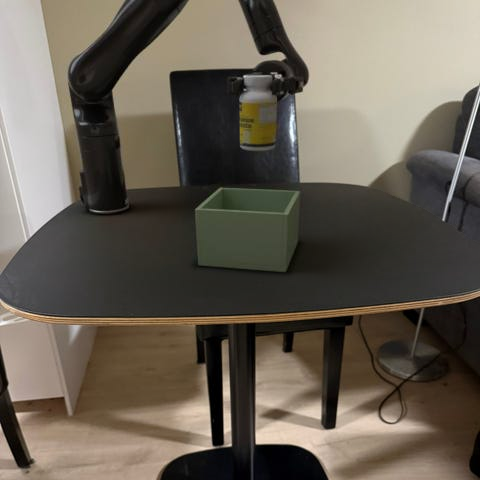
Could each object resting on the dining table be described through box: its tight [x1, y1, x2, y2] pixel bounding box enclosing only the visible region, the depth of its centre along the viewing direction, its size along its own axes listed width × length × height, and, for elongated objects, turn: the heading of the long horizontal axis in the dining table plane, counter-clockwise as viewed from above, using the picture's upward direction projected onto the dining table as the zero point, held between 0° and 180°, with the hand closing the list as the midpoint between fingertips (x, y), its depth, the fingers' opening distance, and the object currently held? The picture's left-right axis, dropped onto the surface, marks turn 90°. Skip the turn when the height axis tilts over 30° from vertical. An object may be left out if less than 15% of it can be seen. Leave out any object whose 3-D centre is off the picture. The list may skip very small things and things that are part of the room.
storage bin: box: [194, 187, 301, 273], centre depth 87 cm, size 16×16×10 cm
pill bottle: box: [238, 75, 278, 152], centre depth 83 cm, size 6×6×12 cm
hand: (255, 87), depth 79 cm, fingers closed on pill bottle, 5 cm apart
